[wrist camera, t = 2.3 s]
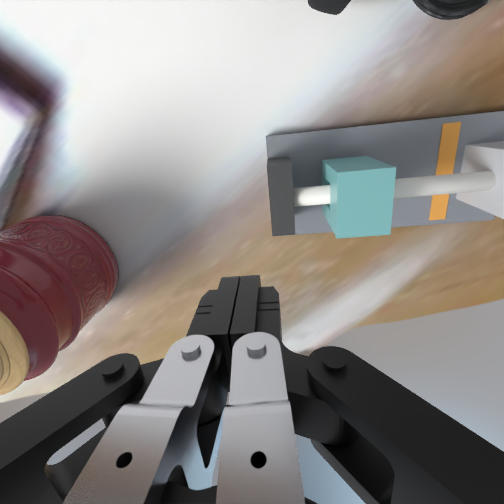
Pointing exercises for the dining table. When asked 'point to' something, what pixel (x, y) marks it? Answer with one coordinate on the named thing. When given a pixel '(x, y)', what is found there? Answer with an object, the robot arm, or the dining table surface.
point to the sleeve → (359, 196)
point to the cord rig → (407, 170)
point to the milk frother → (433, 3)
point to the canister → (48, 291)
